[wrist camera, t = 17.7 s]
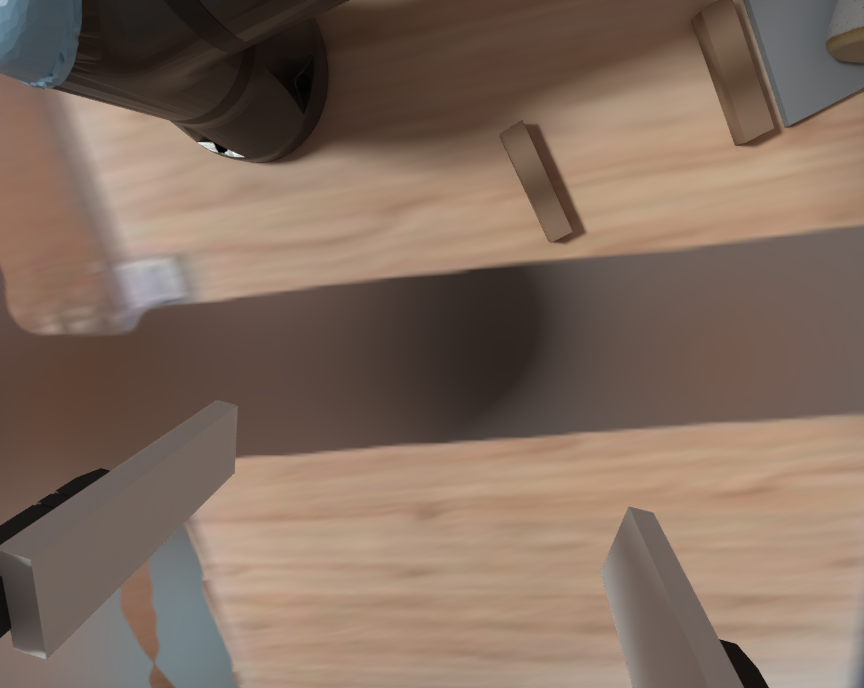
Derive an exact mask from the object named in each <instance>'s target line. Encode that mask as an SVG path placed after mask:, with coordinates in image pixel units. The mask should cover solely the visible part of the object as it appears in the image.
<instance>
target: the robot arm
mask: <svg viewBox="0 0 864 688" xmlns="http://www.w3.org/2000/svg"><path fill="white" fill-rule="evenodd" d="M347 1H349V0H0V73H1V74H4V75H7V76H9V77H12V78H15V79H17V80H19V81H20V82H22V83H24V84H26V85H29V86H32V87H36V88H41V89H45V88H49V89H51V88H52V89H55V90H59V91H63V92H66V93H70V94H74V95H77V96H81V97H85V98H88V99H92V100H96V101H99V102H103V103H107V104H110V105H114V106H118V107H122V108H125V109H129V110H133V111H136V112H140V113H144V114H147V115H151V116H155V117H158V118H162V119H166V120H170V121H171V122H172V123H173V124H175V125H176V126H177V127H178V128H180V129H181V130H182V131H183V132H185V133H186V134H187V135H188V136H190V137H191V138H192V139H193V140H195V141H196V142H197V143H198V144H200V145H201V146H203V147H205V148H206V149H208V150H210V151H212V152H214V153H216V154H218V155H221V156H223V157H227V158H231V159H235V160H240V161H245V162H255V163H258V162H268V161H273V160H276V159H279V158H281V157H284V156H286V155H287V154H289V153H291V152H292V151H294V150H295V149H296V148H298V147H299V146H300V145H301V144H302V143H303V142H304V141H305V140H306V139H307V137H308V136H309V135H310V134H311V132H312V131H313V129H314V127H315V126H316V124H317V122H318V120H319V118H320V115H321V113H322V110H323V107H324V103H325V99H326V94H327V86H328V63H327V55H326V50H325V45H324V42H323V38H322V35H321V32H320V30H319V27H318V25H317V23H316V21H315V19H314V17H315V16H317V15H319V14H322V13H324V12H326V11H328V10H330V9H332V8H334V7H336V6H338V5H340V4H342V3H344V2H347ZM237 410H238V406H237V405H234V404H230V403H226V402H222V401H218V400H216V401H214V402H213V403H212V404H210V405H209V406H207V407H206V408H204V409H203V410H201V411H200V412H198V413H197V414H195V415H194V416H192V417H191V418H189V419H188V420H186V421H185V422H183V423H182V424H180V425H179V426H177V427H176V428H174V429H173V430H171V431H170V432H168V433H167V434H165V435H164V436H162V437H161V438H159V439H158V440H156V441H155V442H153V443H152V444H150V445H149V446H147V447H146V448H144V449H143V450H141V451H140V452H138V453H137V454H136V455H134V456H132V457H131V458H130V459H128V460H127V461H125V462H124V463H122V464H121V465H119V466H118V467H116V468H115V469H113V470H112V471H109V470H106V469H102V468H100V469H98V470H95V471H92V472H90V473H87V474H85V475H82V476H80V477H77V478H75V479H73V480H72V481H70V482H69V483H67V484H65V485H64V486H62V487H61V488H59V489H58V490H56V491H55V493H54V494H50V495H48V496H46V497H45V498H43V499H42V500H40V501H39V502H38V503H37V504H36V505H32V506H31V507H29V508H28V509H26V510H24V511H23V512H21V513H19V514H18V515H16V516H15V517H13V518H12V519H10V520H9V521H7V522H5V523H4V524H2V525H0V638H1V637H2V636H3V635H4V634H5V633H6V632H8V631H9V630H10V631H11V636H12V641H13V646H14V649H15V650H19V651H22V652H25V653H28V654H31V655H34V656H37V657H40V658H43V659H47V658H49V657H50V655H52V654H53V653H54V651H56V649H58V648H59V647H60V646H61V645H62V644H63V642H64V641H66V640H67V639H68V638H69V637H70V636H71V634H73V633H74V632H75V631H76V630H77V629H78V628H79V627H80V626H81V625H82V624H83V623H84V622H85V621H86V620H87V619H88V618H89V617H90V616H91V615H92V614H93V613H94V612H95V611H96V610H97V609H98V608H99V607H100V606H101V605H102V604H103V603H104V602H105V601H106V600H107V599H108V598H109V597H110V596H111V595H112V594H113V593H114V592H115V591H116V590H117V589H118V588H119V587H120V586H121V585H122V584H123V583H124V582H125V581H126V580H127V579H128V578H129V577H130V576H131V575H132V574H133V573H134V572H135V571H136V570H137V569H138V568H139V567H140V566H141V565H142V564H143V563H144V562H145V561H146V560H147V559H148V558H149V557H150V556H151V555H152V554H153V553H154V552H155V551H156V550H157V549H158V548H159V547H160V546H161V545H162V544H163V543H164V542H165V541H166V540H167V539H168V538H169V537H170V536H171V535H172V534H173V533H174V532H175V531H176V530H177V529H178V528H179V527H180V526H181V525H182V524H183V523H184V522H186V521H187V520H188V519H189V518H190V517H191V516H192V515H193V514H194V513H195V512H196V511H197V510H198V509H199V508H200V507H201V506H202V505H203V504H204V503H205V502H206V501H207V500H208V499H209V498H210V497H211V496H212V495H213V494H214V493H215V492H216V491H217V490H218V489H219V488H220V487H221V486H222V485H223V484H224V483H225V482H226V481H227V480H228V479H229V478H230V477H231V476H232V475H233V474H234V473H235V451H236V431H237V430H236V429H237ZM600 573H601V577H602V580H603V584H604V587H605V591H606V594H607V598H608V601H609V605H610V608H611V612H612V615H613V619H614V622H615V626H616V629H617V633H618V636H619V640H620V643H621V647H622V650H623V654H624V657H625V661H626V664H627V668H628V671H629V675H630V678H631V682H632V685H633V688H769V687H768V685H767V684H766V682H765V680H764V678H763V677H762V675H761V673H760V671H759V670H758V668H757V667H756V666H755V665H754V664H753V662H752V661H751V660H750V659H749V658H748V657H747V655H746V654H745V653H744V652H743V651H742V650H741V649H740V647H739V646H738V645H737V644H735V643H731V642H727V641H724V640H720V639H719V638H718V636H717V635H716V633H715V631H714V629H713V627H712V625H711V623H710V621H709V619H708V617H707V615H706V613H705V611H704V609H703V608H702V606H701V604H700V602H699V600H698V598H697V596H696V594H695V592H694V590H693V588H692V586H691V584H690V582H689V580H688V579H687V577H686V575H685V573H684V571H683V569H682V567H681V565H680V563H679V561H678V559H677V557H676V555H675V553H674V552H673V550H672V548H671V546H670V544H669V542H668V540H667V538H666V536H665V534H664V532H663V530H662V528H661V526H660V524H659V523H658V521H657V519H656V517H655V515H654V513H652V512H648V511H644V510H641V509H637V508H633V507H628V509H627V512H626V514H625V516H624V519H623V521H622V523H621V526H620V528H619V530H618V532H617V535H616V537H615V539H614V542H613V544H612V546H611V549H610V551H609V553H608V556H607V558H606V560H605V563H604V565H603V567H602V570H601V572H600Z"/></svg>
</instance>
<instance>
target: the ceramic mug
mask: <svg viewBox="0 0 864 688" xmlns="http://www.w3.org/2000/svg"><path fill="white" fill-rule="evenodd" d="M826 50H827V52H828V53H829V54H830V55H831V56H832V57H834V58H835V59H837V60H842V61H847V62H859V63H864V0H838V1H837V4H836V6H835V9H834V11H833V14H832V17H831V20H830V23H829V27H828V33H827V38H826Z"/></svg>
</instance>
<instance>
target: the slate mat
mask: <svg viewBox="0 0 864 688" xmlns="http://www.w3.org/2000/svg"><path fill="white" fill-rule="evenodd" d="M743 1H744V4H745V7H746V10H747V13H748V16H749V19H750V22H751V25H752V28H753V31H754V35H755V38H756V41H757V44H758V47H759V50H760V53H761V56H762V59H763V62H764V65H765V69H766V72H767V75H768V78H769V81H770V84H771V87H772V90H773V93H774V96H775V100H776V103H777V106H778V109H779V112H780V115H781V118H782V121H783V124H784V127H787V126H790V125H792V124H794V123H796V122H798V121H800V120H802V119H804V118H806V117H808V116H810V115H812V114H814V113H815V112H817V111H819V110H821V109H823V108H825V107H827V106H829V105H831V104H833V103H835V102H837V101H839V100H841V99H843V98H845V97H847V96H849V95H851V94H853V93H855V92H857V91H859V90H860V89H862V88H864V63H859V62H847V61H842V60H837V59H835V58H834V57H832V56H831V55H830V54H829V53H828V52H827V50H826V38H827V33H828V27H829V23H830V20H831V17H832V14H833V11H834V9H835V6H836V4H837V1H838V0H743Z"/></svg>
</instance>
